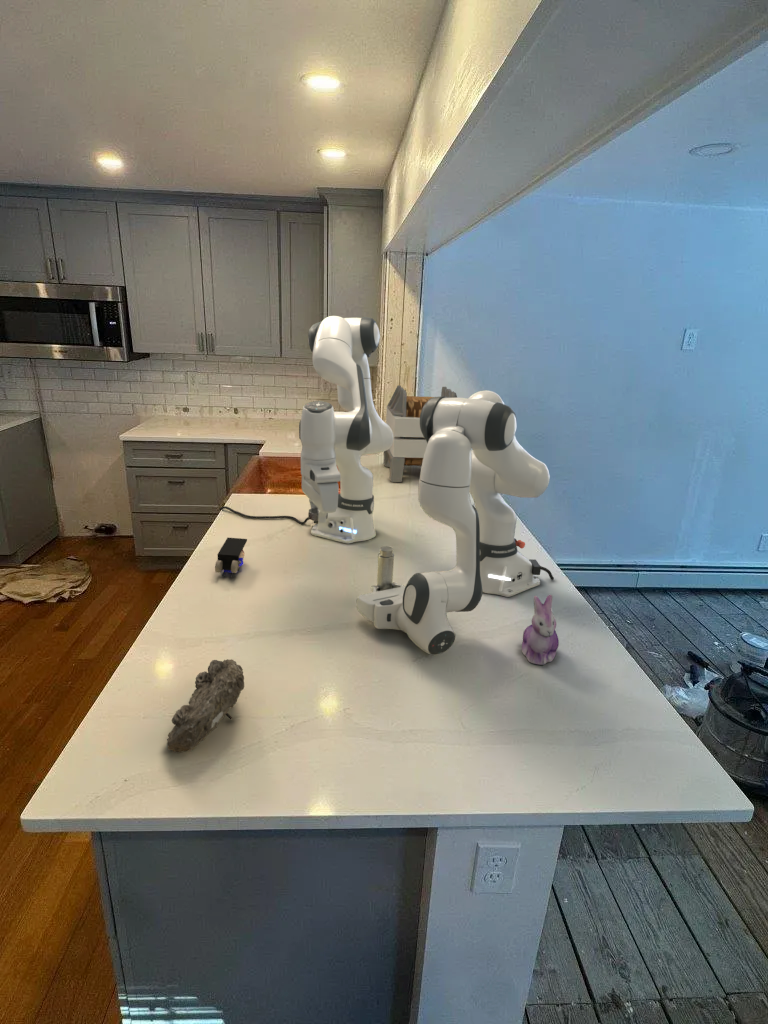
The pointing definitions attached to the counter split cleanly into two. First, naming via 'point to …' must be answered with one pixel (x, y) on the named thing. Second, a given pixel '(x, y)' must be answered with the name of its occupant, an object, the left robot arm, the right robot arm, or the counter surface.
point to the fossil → (206, 705)
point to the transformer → (406, 431)
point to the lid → (314, 514)
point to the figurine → (541, 634)
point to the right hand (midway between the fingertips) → (382, 586)
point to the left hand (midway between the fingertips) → (318, 518)
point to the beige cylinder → (385, 568)
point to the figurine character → (230, 556)
